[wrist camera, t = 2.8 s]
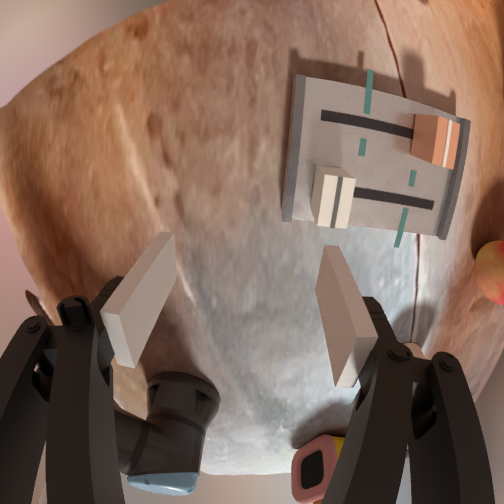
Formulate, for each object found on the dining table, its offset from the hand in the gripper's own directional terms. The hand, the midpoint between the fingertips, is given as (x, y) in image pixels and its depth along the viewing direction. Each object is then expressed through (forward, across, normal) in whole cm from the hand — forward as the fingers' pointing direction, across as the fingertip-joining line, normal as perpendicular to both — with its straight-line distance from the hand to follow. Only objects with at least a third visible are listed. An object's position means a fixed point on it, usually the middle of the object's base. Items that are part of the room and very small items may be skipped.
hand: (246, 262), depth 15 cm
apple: (+20, +38, -7) cm, 44 cm away
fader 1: (+18, +8, 0) cm, 19 cm away
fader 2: (+18, +19, +8) cm, 27 cm away
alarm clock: (+20, +23, -66) cm, 73 cm away
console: (+20, +14, +4) cm, 25 cm away
